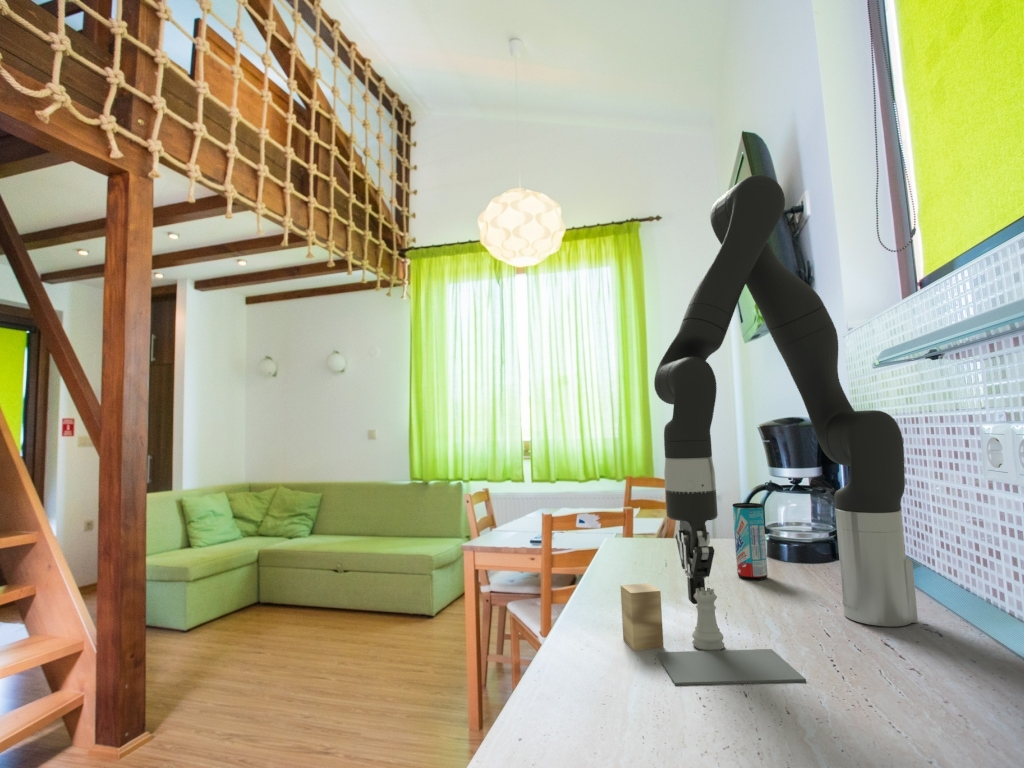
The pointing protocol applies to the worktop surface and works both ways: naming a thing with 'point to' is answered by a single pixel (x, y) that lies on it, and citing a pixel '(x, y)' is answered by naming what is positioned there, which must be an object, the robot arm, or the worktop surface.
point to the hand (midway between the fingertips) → (697, 602)
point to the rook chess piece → (706, 622)
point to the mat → (727, 667)
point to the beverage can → (750, 541)
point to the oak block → (642, 616)
